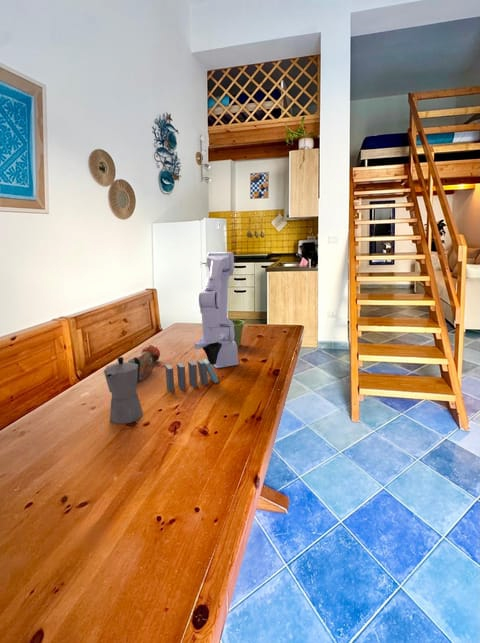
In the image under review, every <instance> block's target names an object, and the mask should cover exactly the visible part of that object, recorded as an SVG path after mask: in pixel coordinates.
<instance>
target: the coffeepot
mask: <svg viewBox="0 0 480 643" xmlns="http://www.w3.org/2000/svg"><path fill="white" fill-rule="evenodd" d="M139 370H140V361H139V360H138V359H137V358H134V357H133V358H132V359H128V360H127V362H124V357H122V356H120V357H117V363H114V364H110V365H107V366H106V367H105V369H104V370H103V373H104V377H105V380H106V384H107V387H108V391H109V393H111V400H110V413H109V414H110V415H109V421H111V422H112V423H114V424H117V425H126V424H130V423H135V422H136V421H138V420H140V418H142V416H143V412H144V411H143V408H142V405H141V401H140V397H139V395H138V392H137V389H138V388H137V387H138V384H139Z"/></svg>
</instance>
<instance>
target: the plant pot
mask: <svg viewBox="0 0 480 643" xmlns="http://www.w3.org/2000/svg"><path fill="white" fill-rule="evenodd" d="M230 320H231V321H232V322H233V324H234V340H233V341H235V342H236V344H237V348H238V347H240V346H241V345H242V336H243V328H244V324H245V321H244V320H242V319H230ZM219 326H228V325H219Z"/></svg>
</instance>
